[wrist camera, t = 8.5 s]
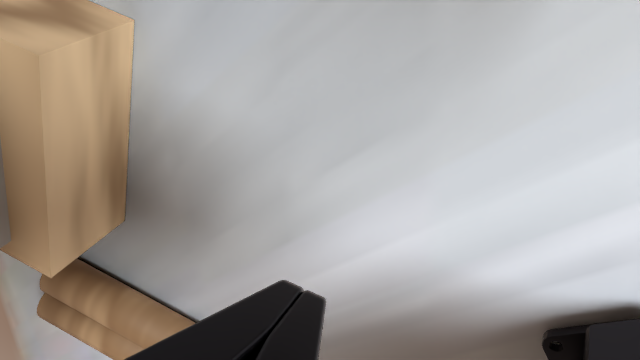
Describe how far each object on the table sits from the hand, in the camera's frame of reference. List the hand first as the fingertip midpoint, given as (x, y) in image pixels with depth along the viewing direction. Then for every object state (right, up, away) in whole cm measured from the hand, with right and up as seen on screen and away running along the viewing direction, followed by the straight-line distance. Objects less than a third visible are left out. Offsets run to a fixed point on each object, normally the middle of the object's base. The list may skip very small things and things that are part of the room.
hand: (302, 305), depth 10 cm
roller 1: (-11, -6, +24) cm, 27 cm away
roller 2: (-10, -4, +23) cm, 25 cm away
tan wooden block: (-12, +6, +17) cm, 22 cm away
